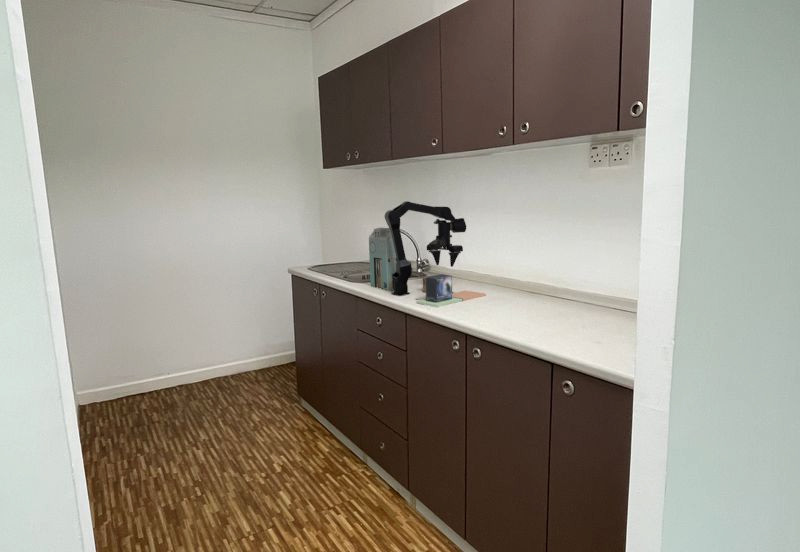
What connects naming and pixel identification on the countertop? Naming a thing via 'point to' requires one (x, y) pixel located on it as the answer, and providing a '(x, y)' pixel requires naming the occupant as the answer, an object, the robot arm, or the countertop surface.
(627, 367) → the countertop surface
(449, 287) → the small box
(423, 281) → the brown wooden block
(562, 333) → the countertop surface
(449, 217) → the robot arm
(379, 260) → the device
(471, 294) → the green and salmon panel
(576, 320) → the countertop surface
